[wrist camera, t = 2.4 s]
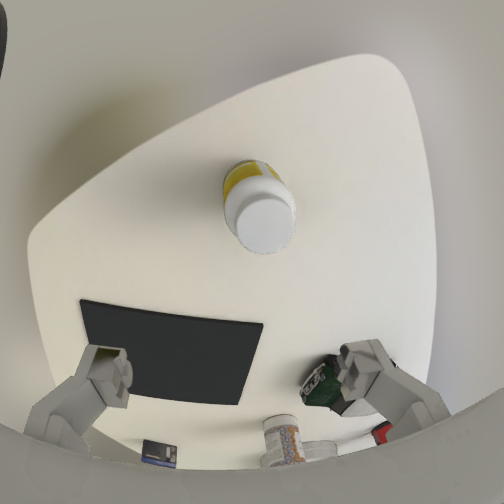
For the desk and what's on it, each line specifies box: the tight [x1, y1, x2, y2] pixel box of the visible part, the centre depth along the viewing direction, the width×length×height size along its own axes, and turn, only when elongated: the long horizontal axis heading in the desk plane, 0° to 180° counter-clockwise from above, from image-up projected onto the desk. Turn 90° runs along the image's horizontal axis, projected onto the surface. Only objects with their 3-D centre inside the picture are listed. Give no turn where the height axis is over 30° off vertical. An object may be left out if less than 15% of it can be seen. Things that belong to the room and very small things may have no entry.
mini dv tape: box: [141, 440, 177, 469], centre depth 51 cm, size 8×2×6 cm, turn 64°
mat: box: [80, 299, 263, 405], centre depth 38 cm, size 24×20×1 cm
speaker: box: [372, 421, 393, 445], centre depth 54 cm, size 8×8×18 cm
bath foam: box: [263, 415, 306, 467], centre depth 41 cm, size 7×7×20 cm
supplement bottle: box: [223, 160, 296, 254], centre depth 22 cm, size 5×5×10 cm
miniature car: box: [299, 355, 399, 417], centre depth 40 cm, size 9×18×8 cm, turn 71°
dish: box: [260, 441, 338, 468], centre depth 62 cm, size 22×22×5 cm
